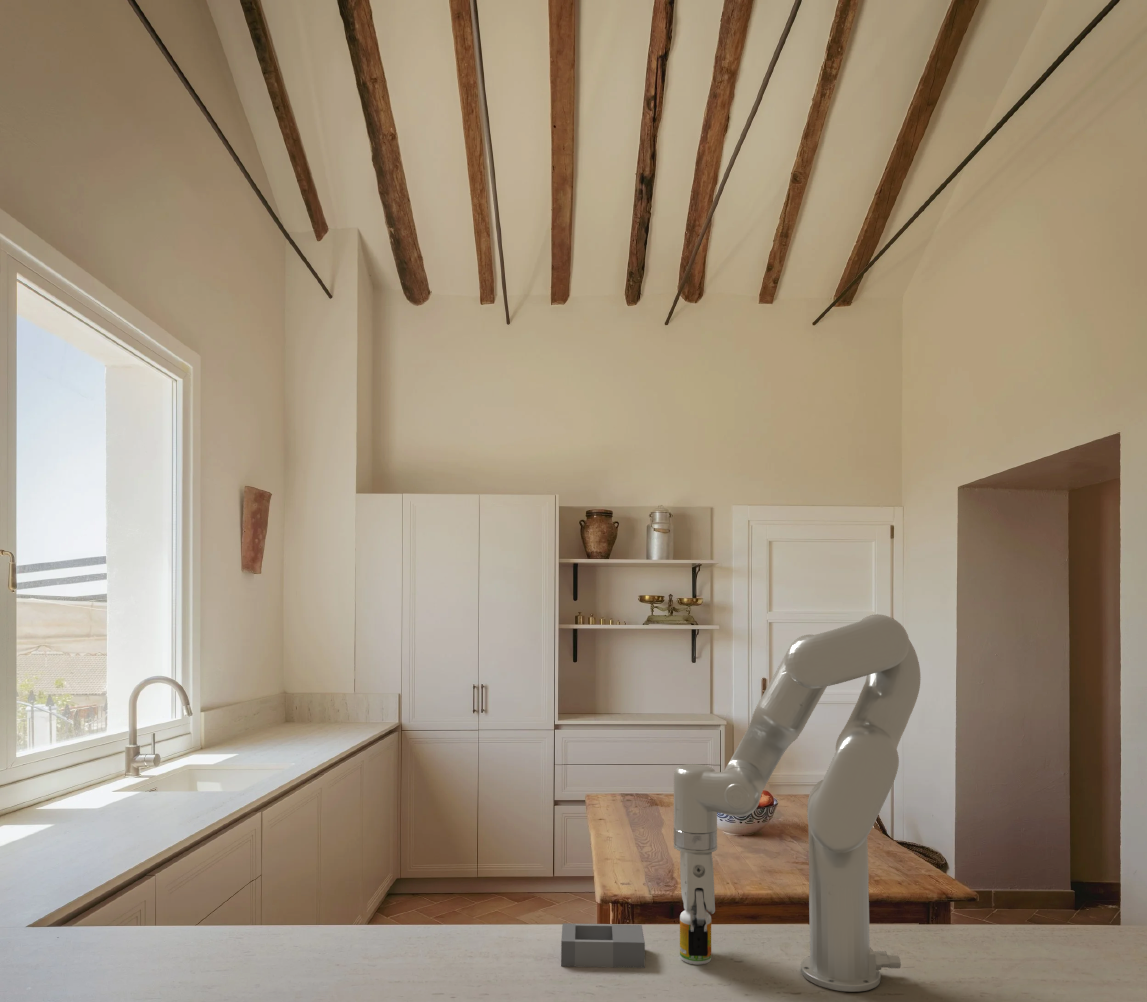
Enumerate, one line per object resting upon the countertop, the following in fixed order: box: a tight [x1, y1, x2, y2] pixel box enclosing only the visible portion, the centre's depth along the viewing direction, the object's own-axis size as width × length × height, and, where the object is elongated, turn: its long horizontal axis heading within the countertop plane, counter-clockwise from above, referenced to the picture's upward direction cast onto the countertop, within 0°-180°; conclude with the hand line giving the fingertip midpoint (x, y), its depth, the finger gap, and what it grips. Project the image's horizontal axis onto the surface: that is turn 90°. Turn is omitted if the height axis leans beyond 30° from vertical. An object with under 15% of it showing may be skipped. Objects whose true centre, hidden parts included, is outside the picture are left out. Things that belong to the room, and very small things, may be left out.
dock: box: [560, 923, 646, 969], centre depth 153 cm, size 14×8×4 cm, turn 89°
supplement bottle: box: [679, 905, 712, 966], centre depth 153 cm, size 5×5×10 cm
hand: (695, 946), depth 153 cm, fingers open, 5 cm apart
